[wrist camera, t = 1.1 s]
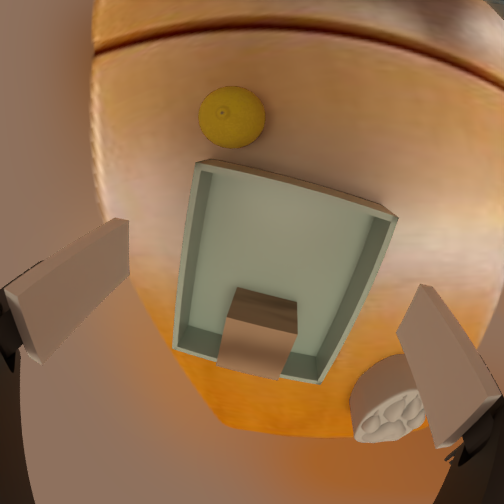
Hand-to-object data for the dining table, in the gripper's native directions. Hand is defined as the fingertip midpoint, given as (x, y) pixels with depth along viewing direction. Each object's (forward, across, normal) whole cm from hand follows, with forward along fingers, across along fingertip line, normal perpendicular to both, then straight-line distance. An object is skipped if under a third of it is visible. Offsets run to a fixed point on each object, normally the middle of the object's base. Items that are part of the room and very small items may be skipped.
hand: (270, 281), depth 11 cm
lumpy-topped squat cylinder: (+18, +22, -24) cm, 37 cm away
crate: (+18, +1, -9) cm, 20 cm away
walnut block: (+17, 0, -15) cm, 22 cm away
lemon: (+18, -6, +6) cm, 20 cm away
